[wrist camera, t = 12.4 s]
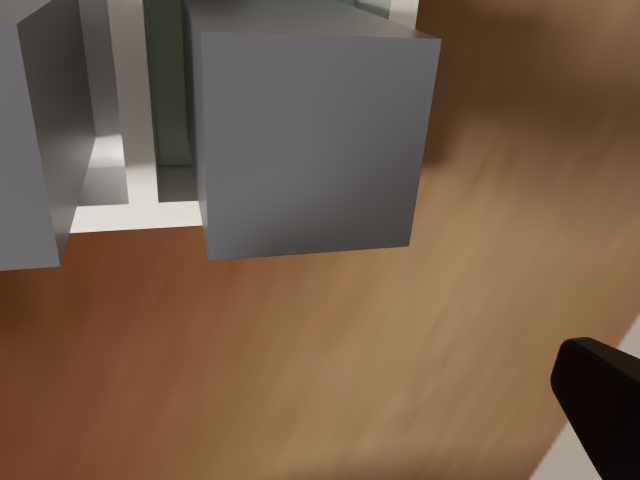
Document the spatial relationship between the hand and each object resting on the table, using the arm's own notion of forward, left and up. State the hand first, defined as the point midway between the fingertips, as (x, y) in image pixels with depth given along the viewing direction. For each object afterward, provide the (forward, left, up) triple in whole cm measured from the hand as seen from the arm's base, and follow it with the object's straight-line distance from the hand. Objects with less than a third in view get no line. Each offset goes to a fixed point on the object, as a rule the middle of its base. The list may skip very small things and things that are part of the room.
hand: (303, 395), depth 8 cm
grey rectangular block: (+2, -1, -12) cm, 12 cm away
